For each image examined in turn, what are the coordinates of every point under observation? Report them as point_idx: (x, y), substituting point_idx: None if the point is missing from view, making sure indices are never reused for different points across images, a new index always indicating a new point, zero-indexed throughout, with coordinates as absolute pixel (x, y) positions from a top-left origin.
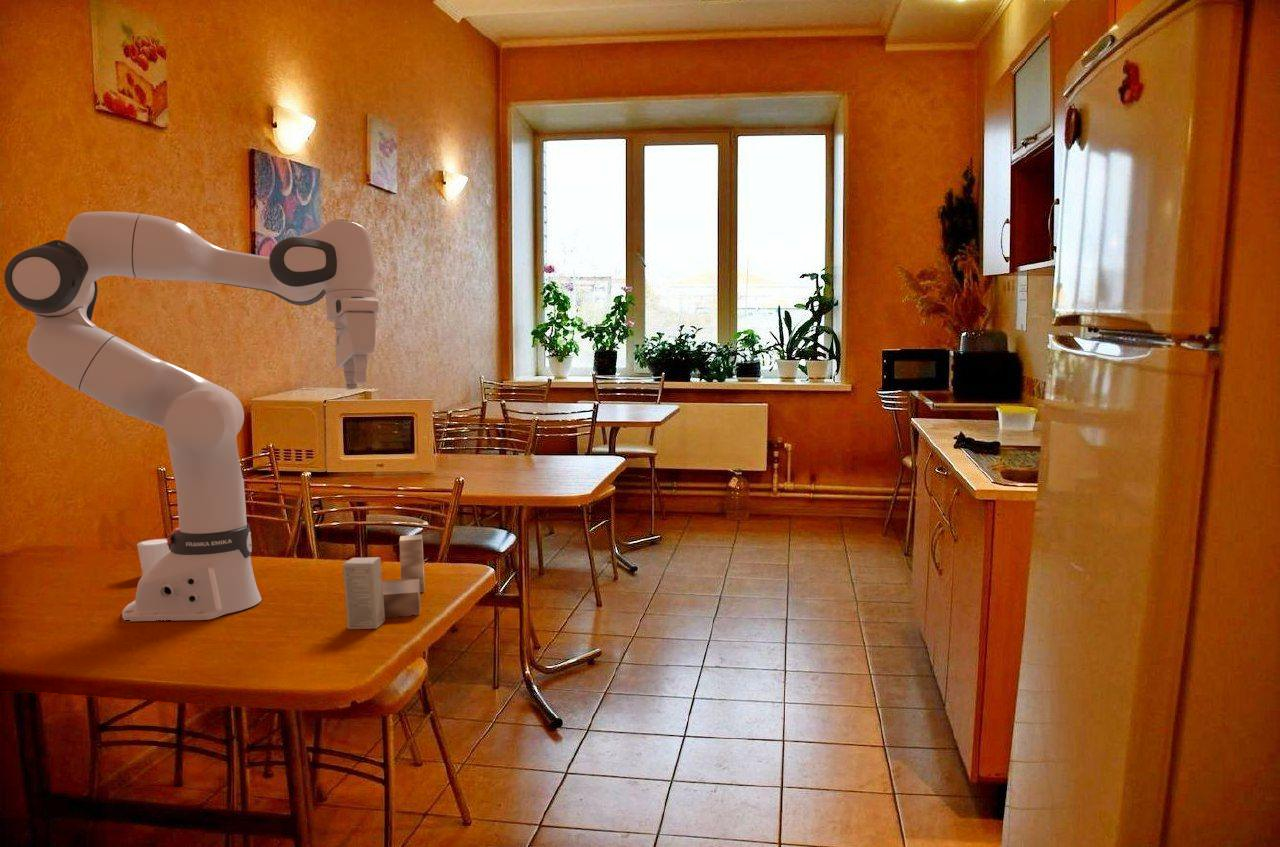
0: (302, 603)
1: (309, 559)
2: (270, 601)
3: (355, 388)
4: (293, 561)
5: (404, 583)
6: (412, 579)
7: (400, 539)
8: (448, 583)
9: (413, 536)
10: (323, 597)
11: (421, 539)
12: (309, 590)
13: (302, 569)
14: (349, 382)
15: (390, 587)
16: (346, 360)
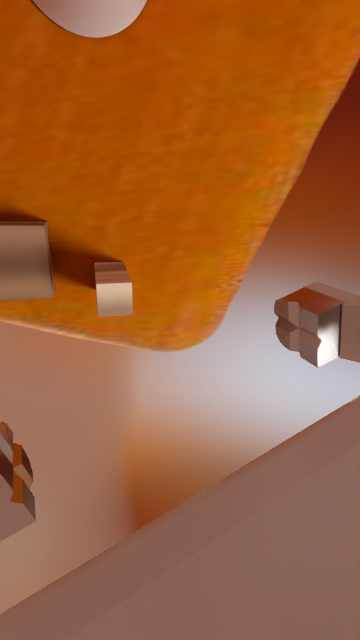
0: (70, 116)
1: (327, 110)
2: (92, 56)
3: (277, 335)
4: (327, 82)
5: (28, 279)
6: (50, 288)
7: (104, 285)
8: (132, 315)
9: (122, 302)
10: (98, 149)
11: (98, 316)
12: (144, 123)
13: (272, 102)
14: (301, 321)
15: (7, 261)
16: (256, 459)
